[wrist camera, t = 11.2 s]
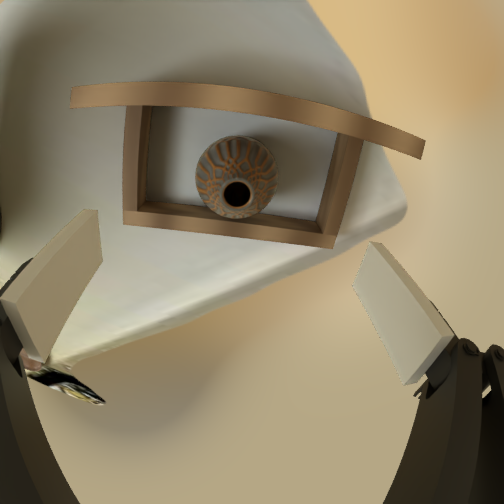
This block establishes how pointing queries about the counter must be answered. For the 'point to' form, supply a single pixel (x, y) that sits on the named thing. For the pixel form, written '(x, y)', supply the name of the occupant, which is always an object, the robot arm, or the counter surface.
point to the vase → (236, 177)
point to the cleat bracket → (250, 102)
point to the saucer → (30, 362)
